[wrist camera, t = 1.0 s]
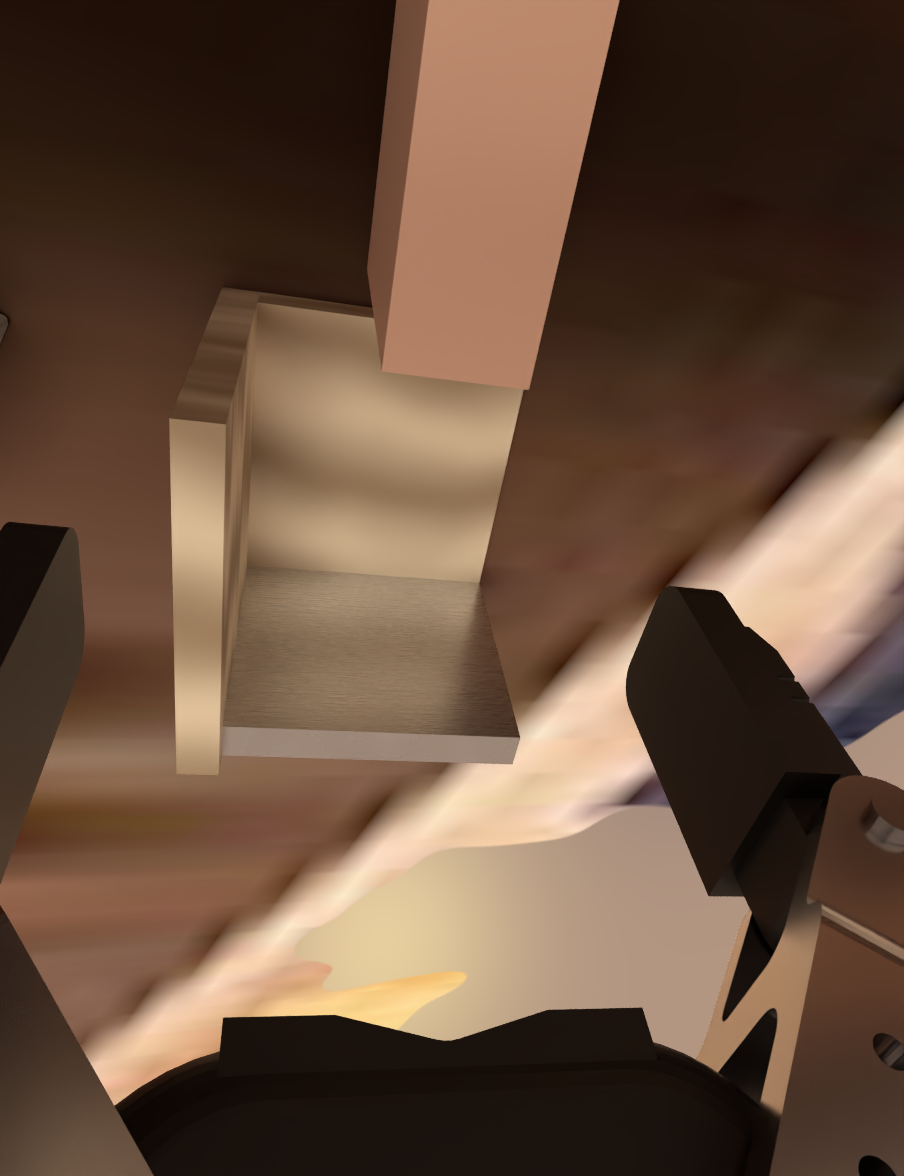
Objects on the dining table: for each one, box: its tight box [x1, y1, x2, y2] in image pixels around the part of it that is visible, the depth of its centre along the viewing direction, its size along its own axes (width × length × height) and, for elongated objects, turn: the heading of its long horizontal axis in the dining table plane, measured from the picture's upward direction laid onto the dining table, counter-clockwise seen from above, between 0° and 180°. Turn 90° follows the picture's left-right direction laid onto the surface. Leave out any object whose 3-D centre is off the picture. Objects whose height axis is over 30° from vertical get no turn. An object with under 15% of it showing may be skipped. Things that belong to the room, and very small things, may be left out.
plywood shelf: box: [169, 287, 524, 775], centre depth 33 cm, size 14×13×14 cm
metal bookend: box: [222, 565, 520, 764], centre depth 36 cm, size 2×12×11 cm, turn 80°
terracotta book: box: [367, 0, 619, 390], centre depth 26 cm, size 11×4×12 cm, turn 170°
